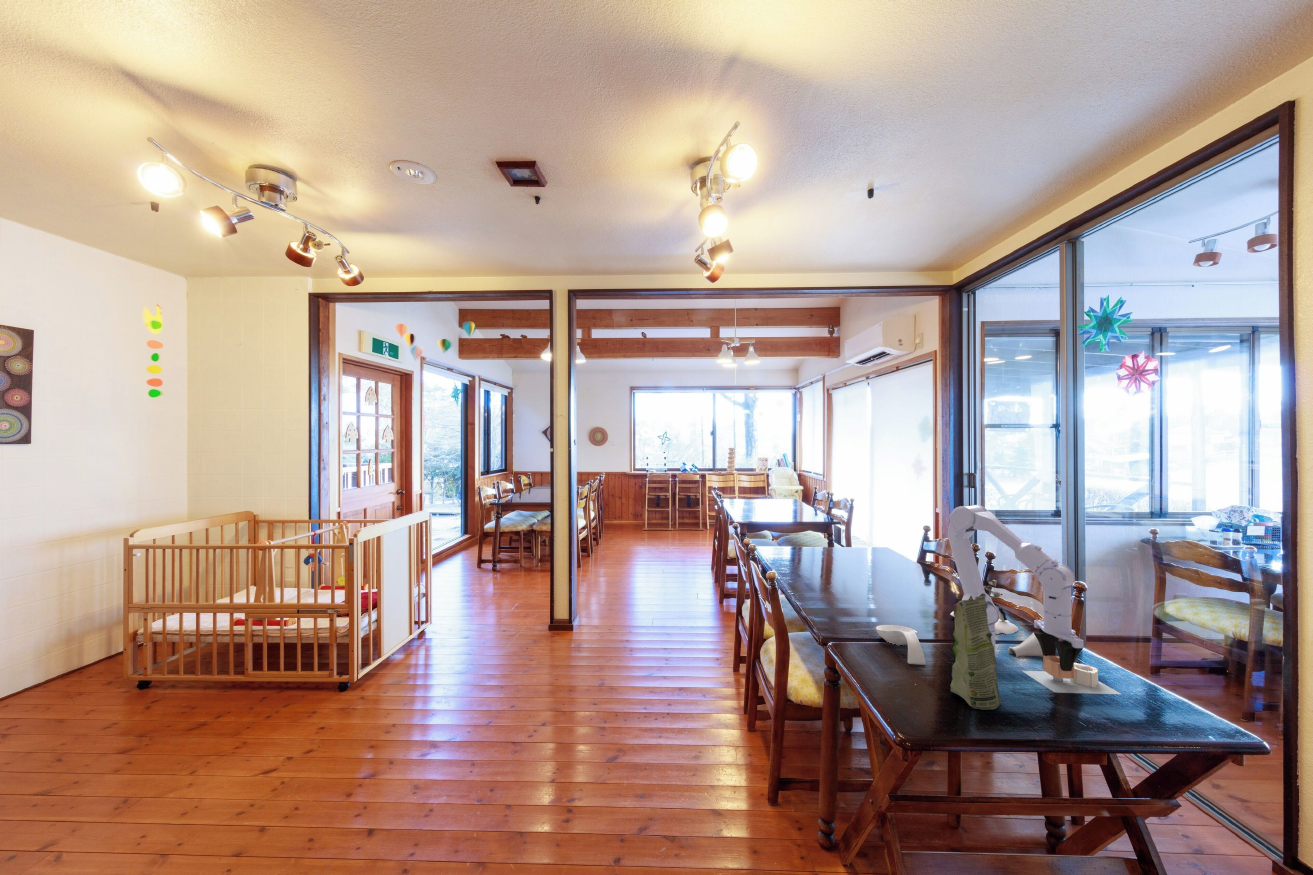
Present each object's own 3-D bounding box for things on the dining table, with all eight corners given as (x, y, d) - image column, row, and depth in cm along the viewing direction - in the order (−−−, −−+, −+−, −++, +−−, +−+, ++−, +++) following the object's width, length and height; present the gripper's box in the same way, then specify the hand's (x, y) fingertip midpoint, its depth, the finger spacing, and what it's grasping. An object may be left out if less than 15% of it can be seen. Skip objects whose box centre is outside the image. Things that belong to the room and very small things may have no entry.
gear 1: (1055, 678, 128) (1055, 664, 128) (1040, 668, 133) (1041, 655, 133) (1076, 678, 128) (1077, 665, 127) (1061, 668, 133) (1061, 655, 133)
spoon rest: (871, 633, 166) (871, 612, 166) (908, 635, 164) (908, 613, 164) (896, 664, 142) (896, 639, 142) (940, 667, 141) (940, 641, 141)
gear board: (1054, 696, 124) (1054, 675, 124) (1021, 674, 136) (1021, 655, 136) (1122, 698, 123) (1122, 677, 123) (1083, 676, 135) (1083, 657, 135)
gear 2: (1095, 688, 126) (1095, 674, 126) (1069, 681, 130) (1069, 667, 130) (1098, 681, 130) (1098, 668, 130) (1073, 675, 133) (1072, 661, 134)
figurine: (938, 616, 180) (943, 571, 179) (971, 610, 188) (975, 567, 187) (996, 641, 162) (1002, 592, 161) (1029, 633, 170) (1035, 586, 169)
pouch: (956, 709, 117) (956, 601, 118) (940, 685, 129) (940, 587, 130) (1010, 715, 115) (1009, 605, 115) (989, 690, 126) (988, 590, 127)
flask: (1055, 643, 143) (1023, 651, 142) (1052, 663, 145) (1021, 672, 144) (1032, 627, 150) (1002, 634, 149) (1030, 646, 152) (1001, 654, 151)
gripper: (1096, 622, 123) (1096, 678, 123) (1052, 604, 137) (1053, 654, 137) (1066, 621, 123) (1066, 677, 123) (1025, 603, 138) (1026, 653, 138)
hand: (1057, 665), depth 130 cm, fingers closed on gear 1, 5 cm apart
